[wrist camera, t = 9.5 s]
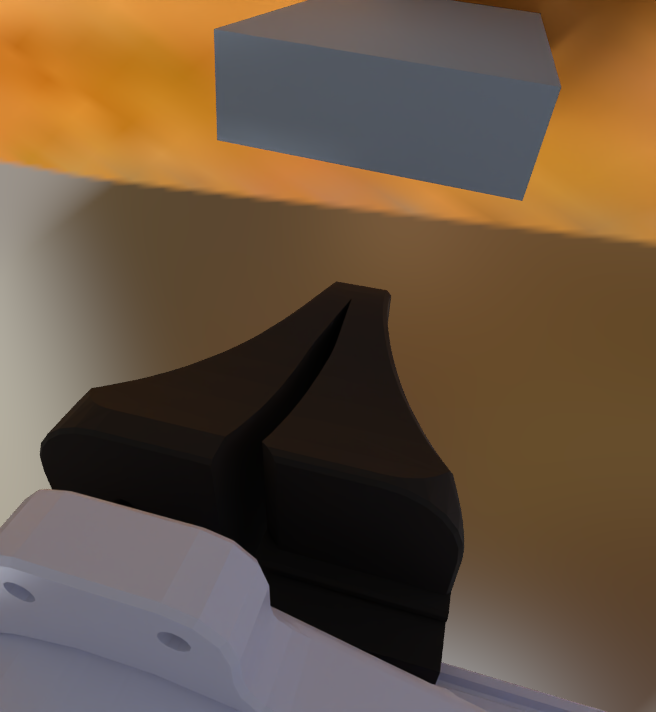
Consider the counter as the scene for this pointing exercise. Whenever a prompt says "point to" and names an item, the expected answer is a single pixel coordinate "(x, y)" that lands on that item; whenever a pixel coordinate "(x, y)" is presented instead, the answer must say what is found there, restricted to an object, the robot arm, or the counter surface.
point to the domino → (392, 88)
